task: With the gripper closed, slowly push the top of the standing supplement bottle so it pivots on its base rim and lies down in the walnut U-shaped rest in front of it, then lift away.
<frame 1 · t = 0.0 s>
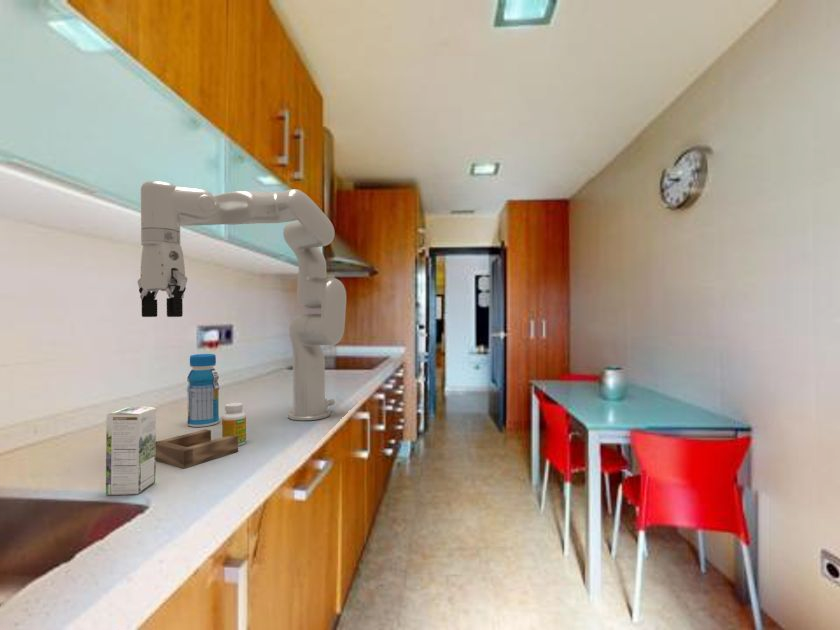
hand: (161, 316, 99), 31 cm above the worktop, fingers open, 9 cm apart
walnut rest: (195, 455, 100), on the worktop
supplement bottle: (234, 444, 109), on the worktop
beverage bottle: (203, 424, 129), on the worktop
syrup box: (132, 490, 81), on the worktop
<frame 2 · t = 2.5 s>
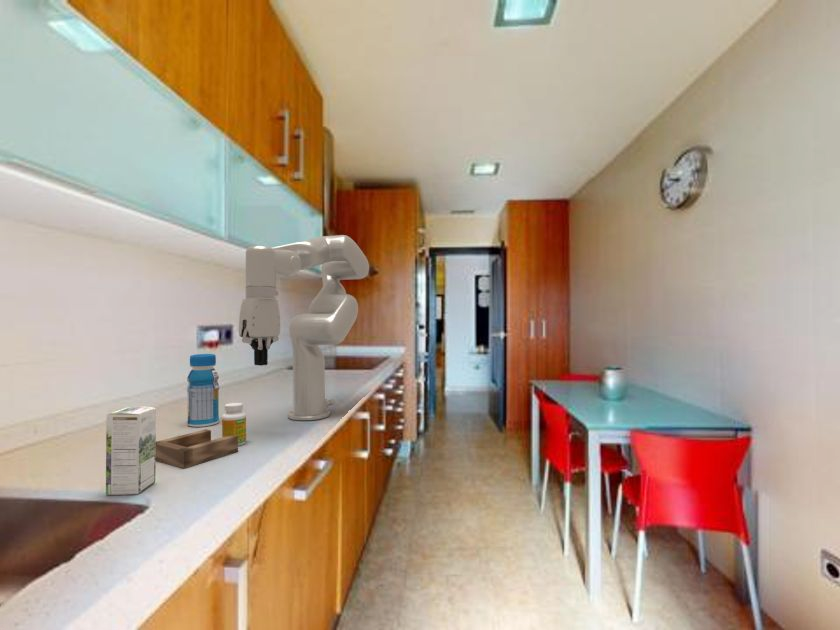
hand: (260, 364, 116), 18 cm above the worktop, fingers closed
nothing on the worktop moved.
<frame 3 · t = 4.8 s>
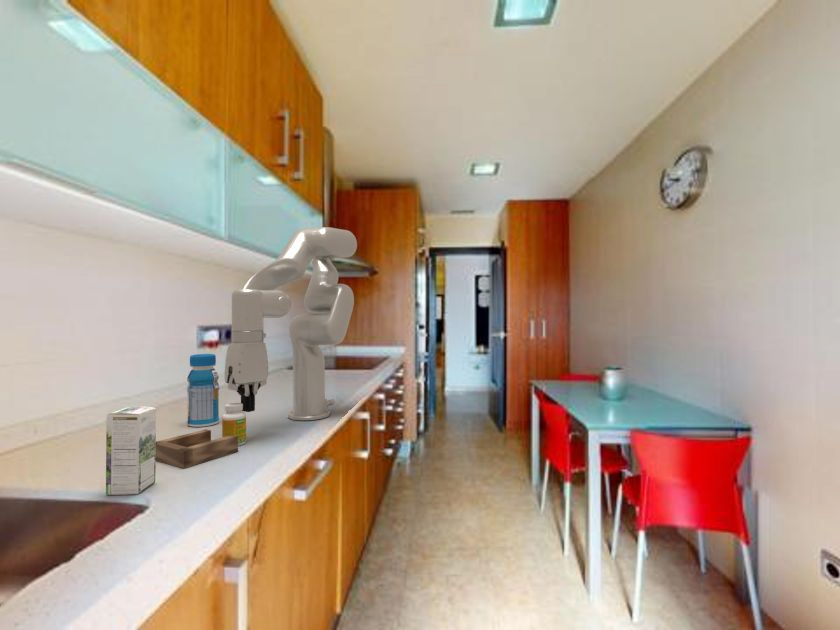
hand: (247, 410, 112), 7 cm above the worktop, fingers closed
supplement bottle: (234, 444, 109), on the worktop, touching gripper
everything else where it was.
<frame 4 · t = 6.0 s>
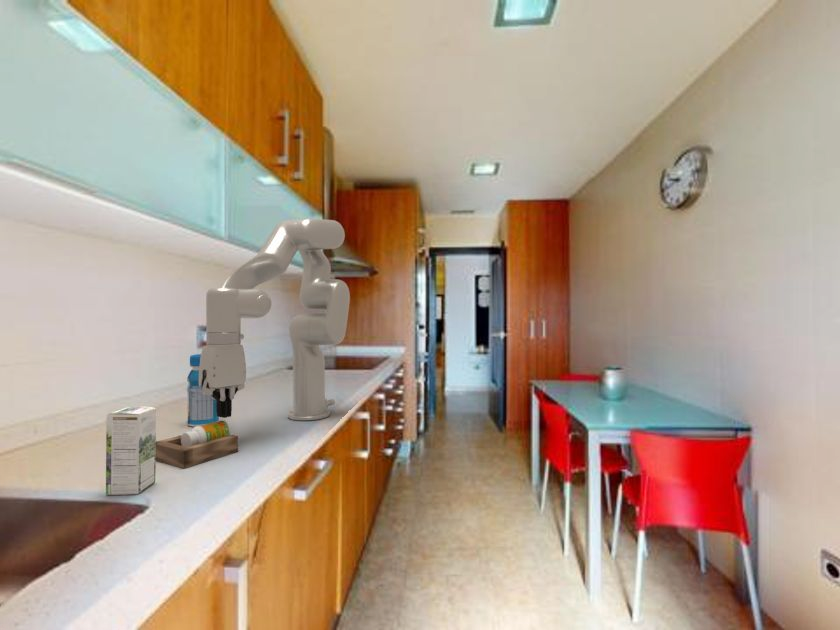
hand: (224, 416, 107), 7 cm above the worktop, fingers closed
supplement bottle: (225, 431, 108), point 3 cm above the worktop, touching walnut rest
everything else where it was.
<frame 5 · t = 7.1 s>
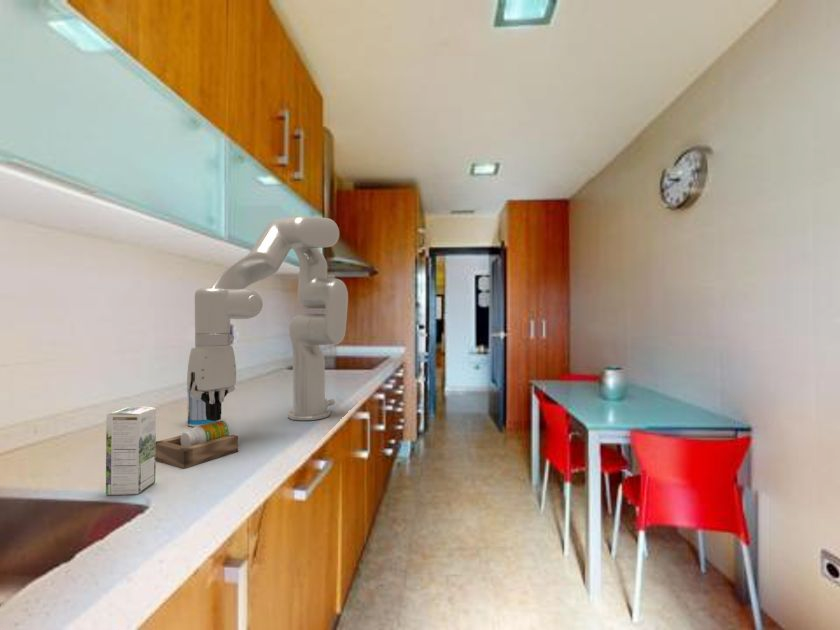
hand: (213, 419, 104), 7 cm above the worktop, fingers closed
nothing on the worktop moved.
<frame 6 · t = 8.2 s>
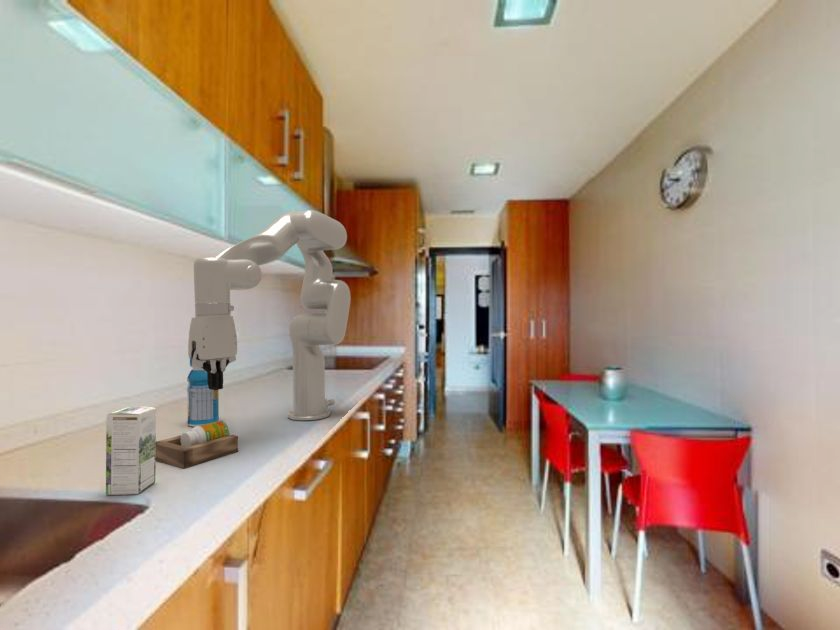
hand: (215, 388, 105), 14 cm above the worktop, fingers closed
nothing on the worktop moved.
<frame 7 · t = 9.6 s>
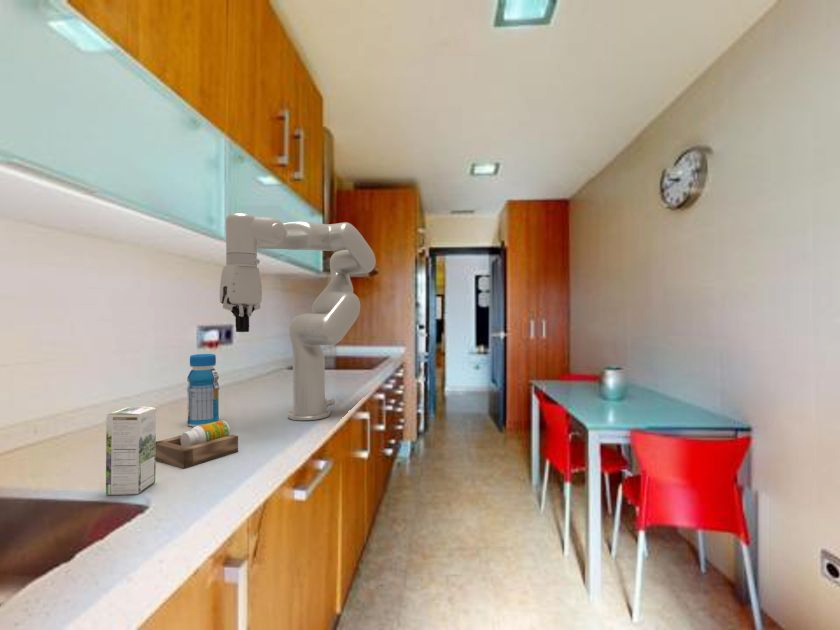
hand: (242, 331, 117), 27 cm above the worktop, fingers closed
nothing on the worktop moved.
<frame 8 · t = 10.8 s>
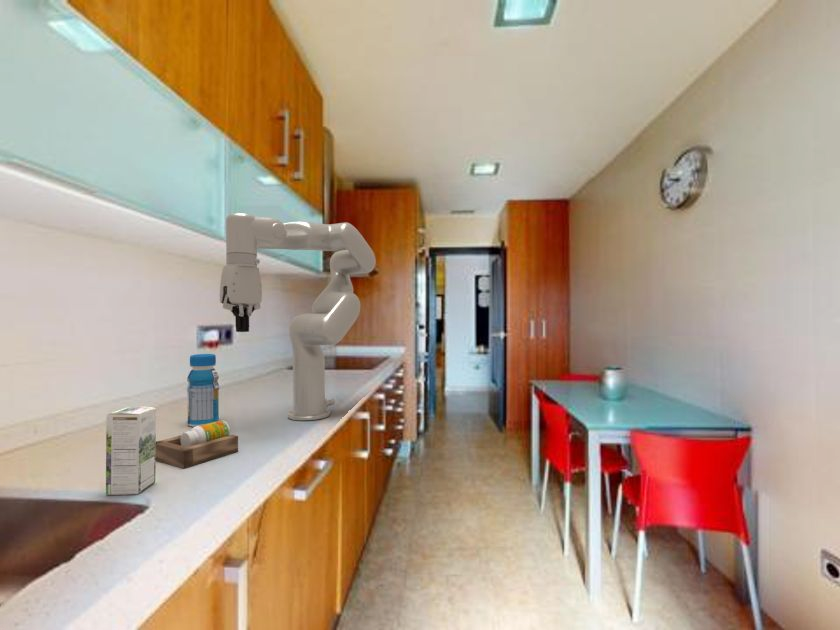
hand: (242, 331, 117), 27 cm above the worktop, fingers closed
nothing on the worktop moved.
at the end: supplement bottle tilted 90°; supplement bottle inside the target area on the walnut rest (5.2 cm from its centre), point 3.5 cm above the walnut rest's base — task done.
